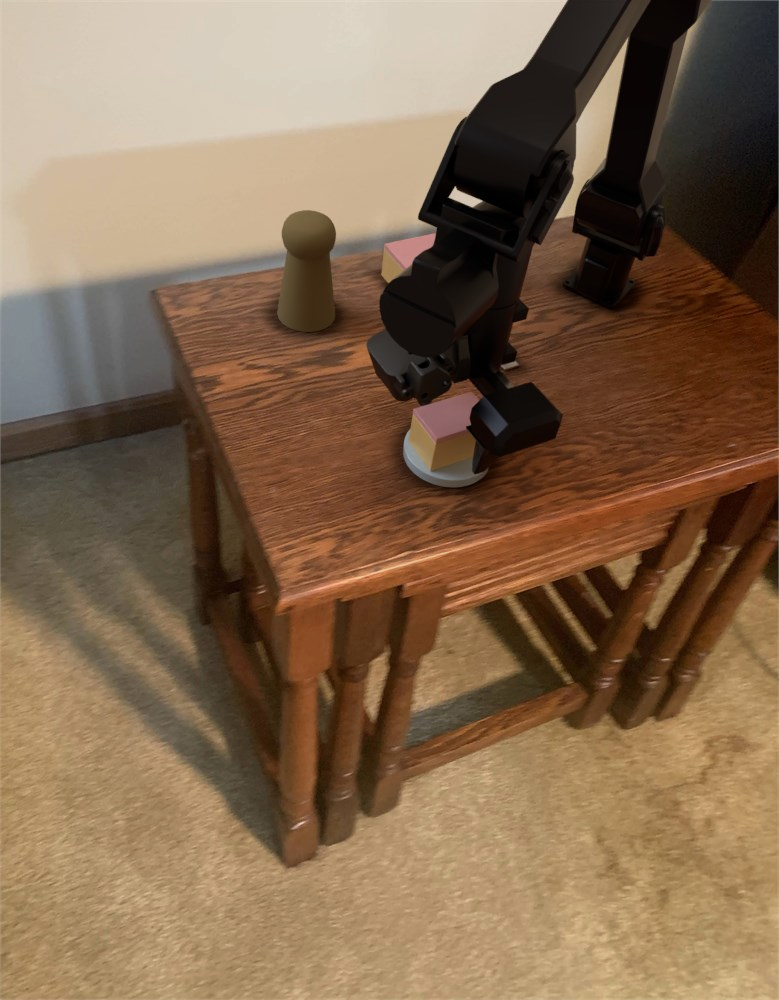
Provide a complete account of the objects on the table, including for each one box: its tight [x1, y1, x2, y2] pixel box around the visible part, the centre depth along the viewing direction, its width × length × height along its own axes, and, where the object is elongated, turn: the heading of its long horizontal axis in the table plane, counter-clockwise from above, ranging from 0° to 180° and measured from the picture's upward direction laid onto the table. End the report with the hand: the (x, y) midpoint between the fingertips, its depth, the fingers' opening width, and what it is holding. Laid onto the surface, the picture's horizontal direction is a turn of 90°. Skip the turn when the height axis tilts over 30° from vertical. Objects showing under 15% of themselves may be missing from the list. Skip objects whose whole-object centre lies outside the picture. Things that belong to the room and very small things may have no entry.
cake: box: [381, 232, 436, 284], centre depth 92 cm, size 6×10×4 cm, turn 118°
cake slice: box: [409, 391, 480, 471], centre depth 73 cm, size 4×6×4 cm, turn 118°
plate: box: [402, 429, 490, 488], centre depth 75 cm, size 8×8×1 cm
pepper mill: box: [276, 209, 337, 333], centre depth 83 cm, size 6×6×11 cm
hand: (450, 436), depth 74 cm, fingers open, 9 cm apart
